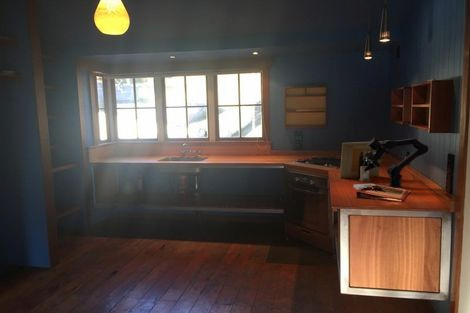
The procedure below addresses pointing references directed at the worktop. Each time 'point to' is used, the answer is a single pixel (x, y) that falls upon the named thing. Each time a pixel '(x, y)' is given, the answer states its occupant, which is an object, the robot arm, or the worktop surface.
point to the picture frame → (355, 159)
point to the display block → (362, 186)
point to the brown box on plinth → (364, 174)
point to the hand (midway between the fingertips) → (362, 170)
